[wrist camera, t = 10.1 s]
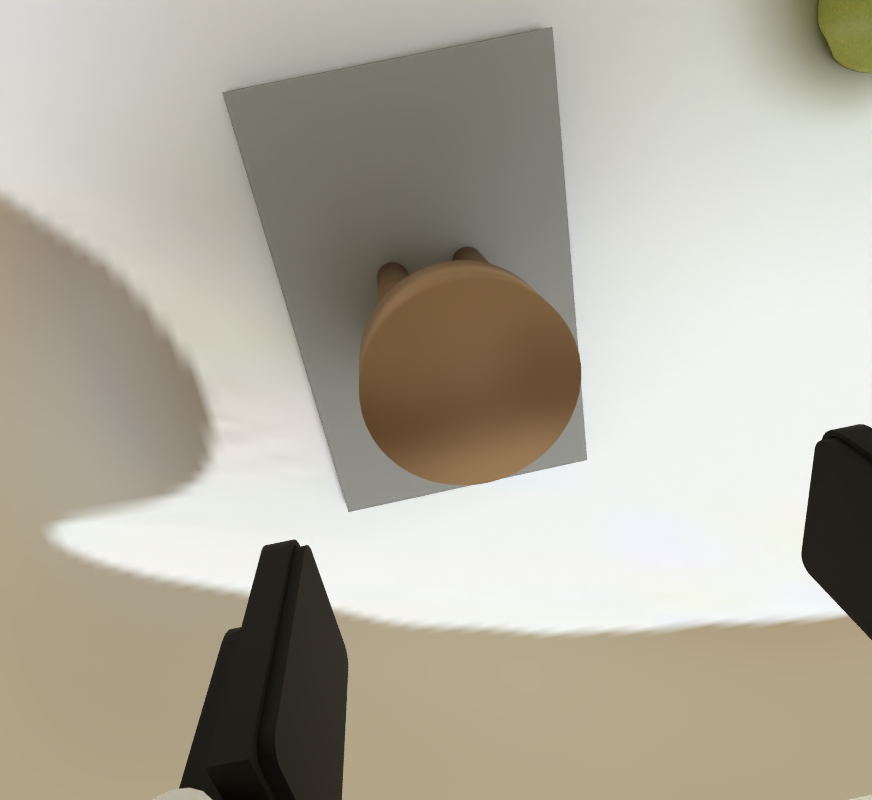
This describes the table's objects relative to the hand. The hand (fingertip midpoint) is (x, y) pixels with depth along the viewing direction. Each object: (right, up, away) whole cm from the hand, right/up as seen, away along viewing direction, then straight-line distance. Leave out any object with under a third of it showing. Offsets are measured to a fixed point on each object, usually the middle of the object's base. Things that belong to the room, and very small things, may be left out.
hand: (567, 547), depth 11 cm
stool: (-2, +7, +16) cm, 18 cm away
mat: (-3, +7, +17) cm, 19 cm away
